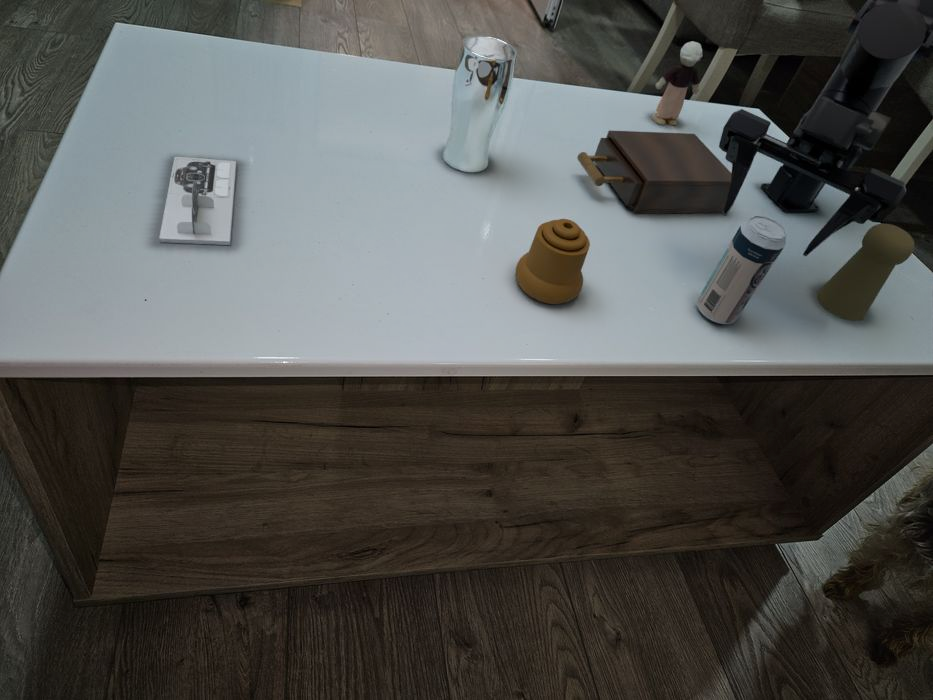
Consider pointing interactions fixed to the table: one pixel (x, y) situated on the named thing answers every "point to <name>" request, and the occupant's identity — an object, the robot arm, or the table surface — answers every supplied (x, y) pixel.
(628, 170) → the drawer
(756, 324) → the table surface
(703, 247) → the table surface
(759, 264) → the beer can
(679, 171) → the cabinet
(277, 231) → the table surface
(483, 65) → the beer glass
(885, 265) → the game pawn
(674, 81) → the grandmother figurine
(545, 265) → the ornamental finial
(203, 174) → the white flat box
